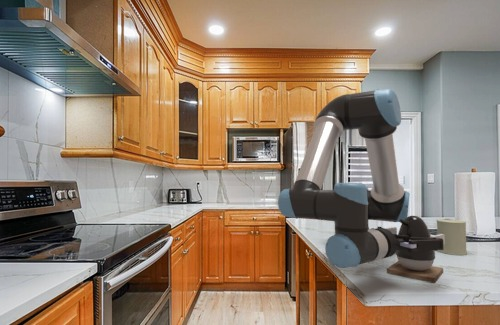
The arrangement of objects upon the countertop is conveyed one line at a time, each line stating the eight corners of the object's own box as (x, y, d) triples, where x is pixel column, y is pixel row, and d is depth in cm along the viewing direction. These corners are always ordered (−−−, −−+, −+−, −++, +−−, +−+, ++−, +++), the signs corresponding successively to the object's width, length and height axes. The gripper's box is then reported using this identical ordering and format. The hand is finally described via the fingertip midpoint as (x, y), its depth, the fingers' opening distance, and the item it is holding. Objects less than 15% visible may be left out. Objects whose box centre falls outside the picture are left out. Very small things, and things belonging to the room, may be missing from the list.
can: (457, 249, 115) (456, 217, 116) (472, 255, 106) (471, 221, 107) (432, 248, 116) (431, 217, 117) (445, 254, 107) (444, 221, 108)
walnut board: (386, 272, 86) (386, 268, 87) (399, 263, 95) (399, 260, 96) (434, 282, 79) (434, 278, 79) (443, 272, 87) (443, 267, 88)
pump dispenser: (387, 265, 90) (386, 214, 91) (412, 261, 94) (411, 213, 94) (417, 275, 80) (415, 218, 81) (444, 271, 84) (442, 216, 85)
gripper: (336, 248, 86) (379, 240, 98) (427, 271, 66) (467, 257, 78) (336, 222, 87) (378, 217, 99) (426, 237, 66) (466, 228, 78)
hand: (417, 235), depth 88 cm, fingers open, 13 cm apart
